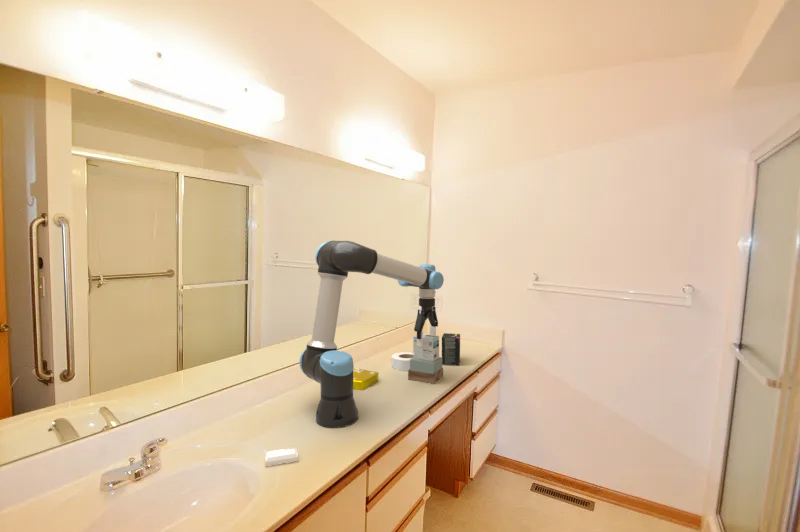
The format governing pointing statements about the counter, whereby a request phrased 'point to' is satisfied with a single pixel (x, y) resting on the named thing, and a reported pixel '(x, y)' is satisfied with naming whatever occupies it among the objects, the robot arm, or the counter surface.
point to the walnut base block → (425, 376)
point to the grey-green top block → (426, 365)
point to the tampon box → (450, 349)
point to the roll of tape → (401, 361)
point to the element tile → (363, 378)
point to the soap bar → (281, 456)
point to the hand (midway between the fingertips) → (426, 342)
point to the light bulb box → (426, 348)
